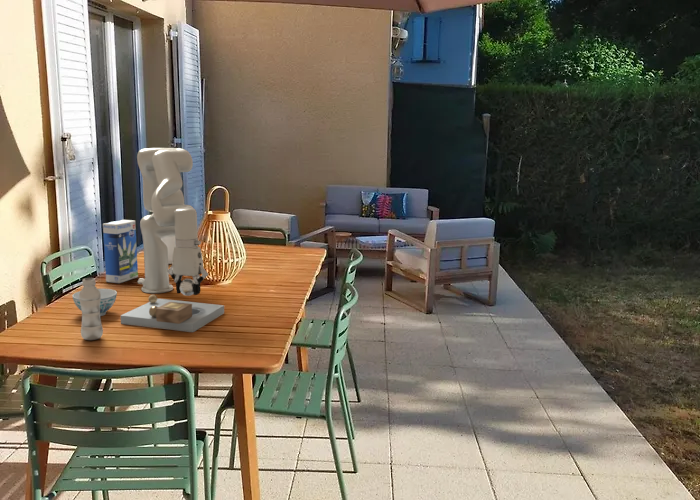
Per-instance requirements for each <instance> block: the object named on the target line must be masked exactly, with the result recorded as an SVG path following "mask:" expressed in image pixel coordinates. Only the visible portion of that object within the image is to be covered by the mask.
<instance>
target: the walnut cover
mask: <svg viewBox="0 0 700 500" xmlns="http://www.w3.org/2000/svg"><path fill="white" fill-rule="evenodd" d="M190 317H192V304H187V303H178V302H168V303H166V304H164V305H162V306H160V307H158V308H156V320H157V321H159V322H168V323H176V324H180V323H182V322H183V321H185V320H187V319H189V318H190Z"/></svg>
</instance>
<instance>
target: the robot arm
mask: <svg viewBox="0 0 700 500" xmlns="http://www.w3.org/2000/svg"><path fill="white" fill-rule="evenodd" d="M136 156H137V157H136V159H137V160H136V161H137V165H138V169H139V170H140V173H141V174H140V175H141V176H142V177H141V178H142V195H143V196H142V197H143V198H142V199H143V206H144V209H145V211H147V212H150V213H151V212H152V214H153V215H152V214H148V215H144V216H143V217H142V218H141V219H140V223H139V226H140V232H141V236H142V237H141V238H142V246H143V263H144V264H143V265H144V278H143V277H142V278H141V277H140V278H138V280H137V284H140V285H142V286H141V291H142V292H143V293H146V294H162V293H167V292H170V291H173V289H174V286H173V285H172V284H170V277H171V278H172V279H173V281H174V283H175V290H176V294H177V295H179V294H182V293H181V292H180V289H179V286H180V283H181V282H182V281H183V280H182V278H183V276H187V277H192V280H194V282H195V284H194V285H193V286H194V294H193V296H197V295H199V294H200V293H201V283H202V282H203V281H204V280H205V278H207V276H208V275H209V272H208V271H207V270H206V269H205V268H204V259H203V254H202V250H201V246H200V245H201V244H202V242H201V241H200V240H199V238H198V215H197V214H198V213H197V210H196V209H195V208H194V207H193V206H192V205H190V204H185V197H184V193H183V191H182V190H181V189H182V187H183V180H182V179H183V178H182V176H181V173H189V172H191V171H192V169H193V167H194V166H193V165H194V164H193V162H194V161H193V158H192V155H191V153H190V152H189V151H188V150H186V149H184V148H181V147H178V148H177V147H149V148H148V147H147V148H142V149H140V150H138V152H137V155H136ZM172 236H175V243H176V247H174V251H173V261H172V264H171V266H170V267H169V264H168V248H167V246H166V244H165V243H164V242H163V241H162V240H161V238H162V237H172ZM169 275H170V277H169ZM200 275H201V276H200Z"/></svg>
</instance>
